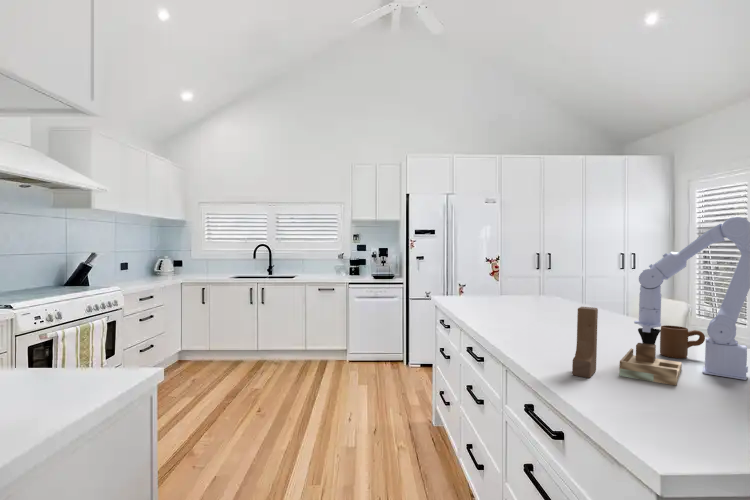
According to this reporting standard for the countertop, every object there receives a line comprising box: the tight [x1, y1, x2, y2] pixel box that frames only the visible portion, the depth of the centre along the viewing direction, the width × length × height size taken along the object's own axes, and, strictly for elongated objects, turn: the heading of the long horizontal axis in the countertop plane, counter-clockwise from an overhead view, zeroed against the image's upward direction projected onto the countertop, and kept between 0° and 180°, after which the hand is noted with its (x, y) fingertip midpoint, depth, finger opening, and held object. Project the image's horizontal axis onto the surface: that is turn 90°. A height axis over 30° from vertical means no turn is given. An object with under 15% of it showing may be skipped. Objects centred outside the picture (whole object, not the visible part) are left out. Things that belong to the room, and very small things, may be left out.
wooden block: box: [571, 306, 599, 379], centre depth 124 cm, size 9×4×18 cm, turn 144°
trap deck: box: [618, 348, 683, 387], centre depth 127 cm, size 13×20×4 cm, turn 142°
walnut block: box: [635, 342, 657, 363], centre depth 132 cm, size 4×4×4 cm
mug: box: [659, 324, 706, 359], centre depth 146 cm, size 12×8×9 cm, turn 57°
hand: (648, 352), depth 138 cm, fingers closed
